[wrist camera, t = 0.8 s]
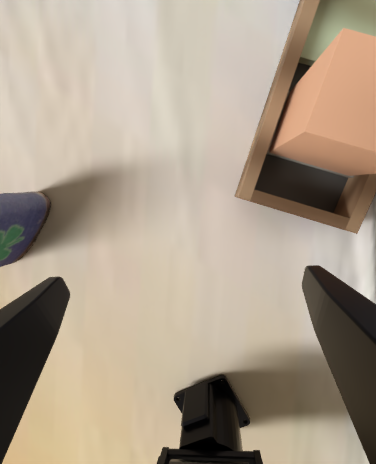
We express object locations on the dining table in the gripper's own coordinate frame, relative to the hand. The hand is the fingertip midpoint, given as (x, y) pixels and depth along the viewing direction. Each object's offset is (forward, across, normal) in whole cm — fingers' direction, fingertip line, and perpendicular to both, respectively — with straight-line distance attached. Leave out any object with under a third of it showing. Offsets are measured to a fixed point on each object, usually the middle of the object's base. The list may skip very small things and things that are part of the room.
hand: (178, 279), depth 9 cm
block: (+15, -11, -1) cm, 19 cm away
